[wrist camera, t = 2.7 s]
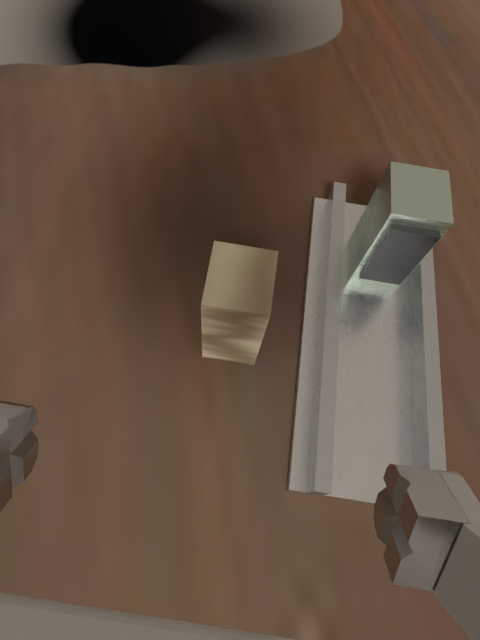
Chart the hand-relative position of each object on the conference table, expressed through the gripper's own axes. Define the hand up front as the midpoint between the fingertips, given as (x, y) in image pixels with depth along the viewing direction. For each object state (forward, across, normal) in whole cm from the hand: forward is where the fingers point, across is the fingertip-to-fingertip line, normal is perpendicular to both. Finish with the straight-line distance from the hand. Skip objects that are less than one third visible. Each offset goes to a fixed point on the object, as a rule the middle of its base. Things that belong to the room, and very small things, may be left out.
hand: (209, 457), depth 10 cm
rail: (+28, -12, +6) cm, 31 cm away
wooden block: (+26, 0, +7) cm, 27 cm away
